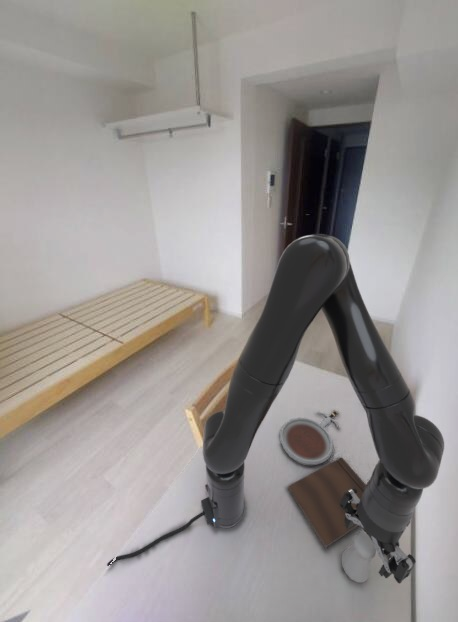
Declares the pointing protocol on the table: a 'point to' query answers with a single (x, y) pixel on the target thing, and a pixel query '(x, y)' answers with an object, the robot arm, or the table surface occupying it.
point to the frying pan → (307, 439)
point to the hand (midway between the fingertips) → (365, 547)
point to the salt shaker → (359, 557)
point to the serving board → (327, 499)
